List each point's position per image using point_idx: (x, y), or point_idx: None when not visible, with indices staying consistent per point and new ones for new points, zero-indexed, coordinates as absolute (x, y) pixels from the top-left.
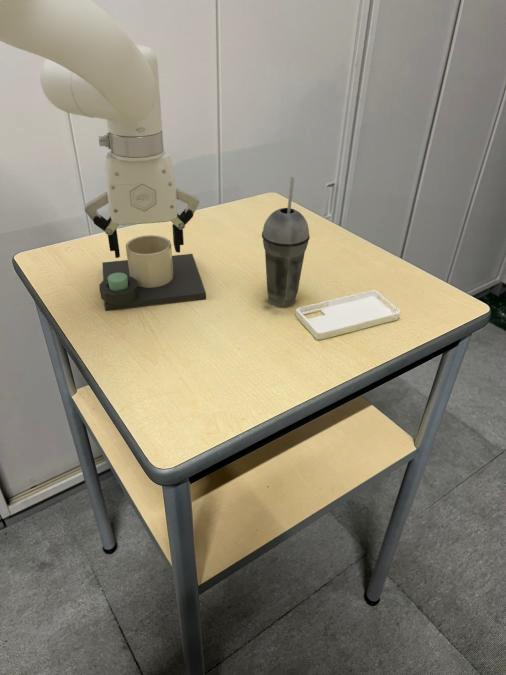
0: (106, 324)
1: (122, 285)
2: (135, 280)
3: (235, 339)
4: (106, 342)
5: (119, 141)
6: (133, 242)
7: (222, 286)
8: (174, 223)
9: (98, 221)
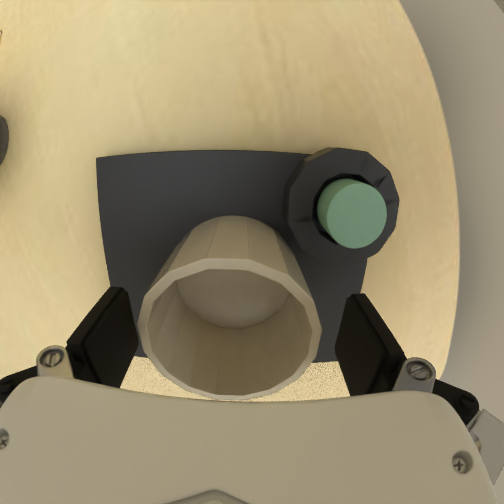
0: (373, 102)
1: (342, 182)
2: (292, 221)
3: (95, 5)
4: (373, 39)
5: None
6: (280, 375)
7: (68, 212)
8: (68, 374)
9: (466, 403)
